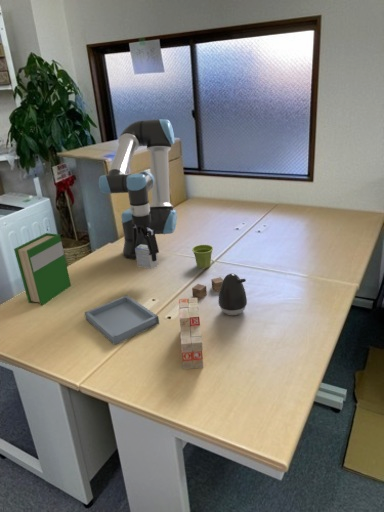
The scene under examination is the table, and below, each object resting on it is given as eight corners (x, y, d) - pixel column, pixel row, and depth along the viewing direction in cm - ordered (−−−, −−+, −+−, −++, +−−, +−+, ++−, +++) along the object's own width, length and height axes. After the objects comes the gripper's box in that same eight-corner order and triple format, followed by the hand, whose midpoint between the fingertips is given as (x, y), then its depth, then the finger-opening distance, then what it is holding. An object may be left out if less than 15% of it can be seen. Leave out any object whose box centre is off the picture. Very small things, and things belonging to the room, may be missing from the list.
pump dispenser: (240, 322, 140) (238, 283, 134) (214, 315, 146) (211, 277, 140) (252, 308, 148) (251, 271, 142) (227, 302, 153) (225, 266, 147)
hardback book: (42, 305, 162) (28, 250, 152) (28, 302, 165) (13, 248, 155) (71, 285, 176) (59, 234, 167) (57, 283, 179) (46, 233, 169)
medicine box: (158, 264, 170) (156, 245, 167) (153, 269, 167) (151, 250, 163) (142, 262, 174) (140, 243, 170) (137, 266, 170) (134, 248, 166)
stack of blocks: (203, 368, 120) (201, 333, 115) (182, 370, 119) (179, 335, 115) (199, 327, 139) (197, 296, 134) (181, 329, 139) (178, 298, 134)
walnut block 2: (211, 287, 165) (211, 279, 163) (220, 285, 166) (220, 277, 164) (215, 292, 162) (215, 283, 160) (224, 289, 163) (224, 281, 161)
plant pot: (212, 270, 179) (211, 252, 176) (191, 270, 181) (190, 252, 178) (215, 261, 188) (214, 244, 184) (195, 261, 190) (194, 244, 186)
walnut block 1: (192, 296, 159) (192, 287, 158) (198, 292, 162) (197, 283, 161) (201, 299, 157) (200, 290, 155) (206, 294, 160) (206, 286, 158)
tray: (86, 319, 149) (84, 312, 148) (127, 301, 159) (126, 294, 158) (114, 344, 133) (113, 337, 132) (159, 323, 143) (158, 316, 142)
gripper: (119, 210, 166) (127, 259, 176) (147, 222, 150) (154, 275, 160) (134, 205, 170) (141, 253, 180) (164, 216, 154) (169, 268, 164)
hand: (147, 263), depth 170 cm, fingers closed on medicine box, 9 cm apart
